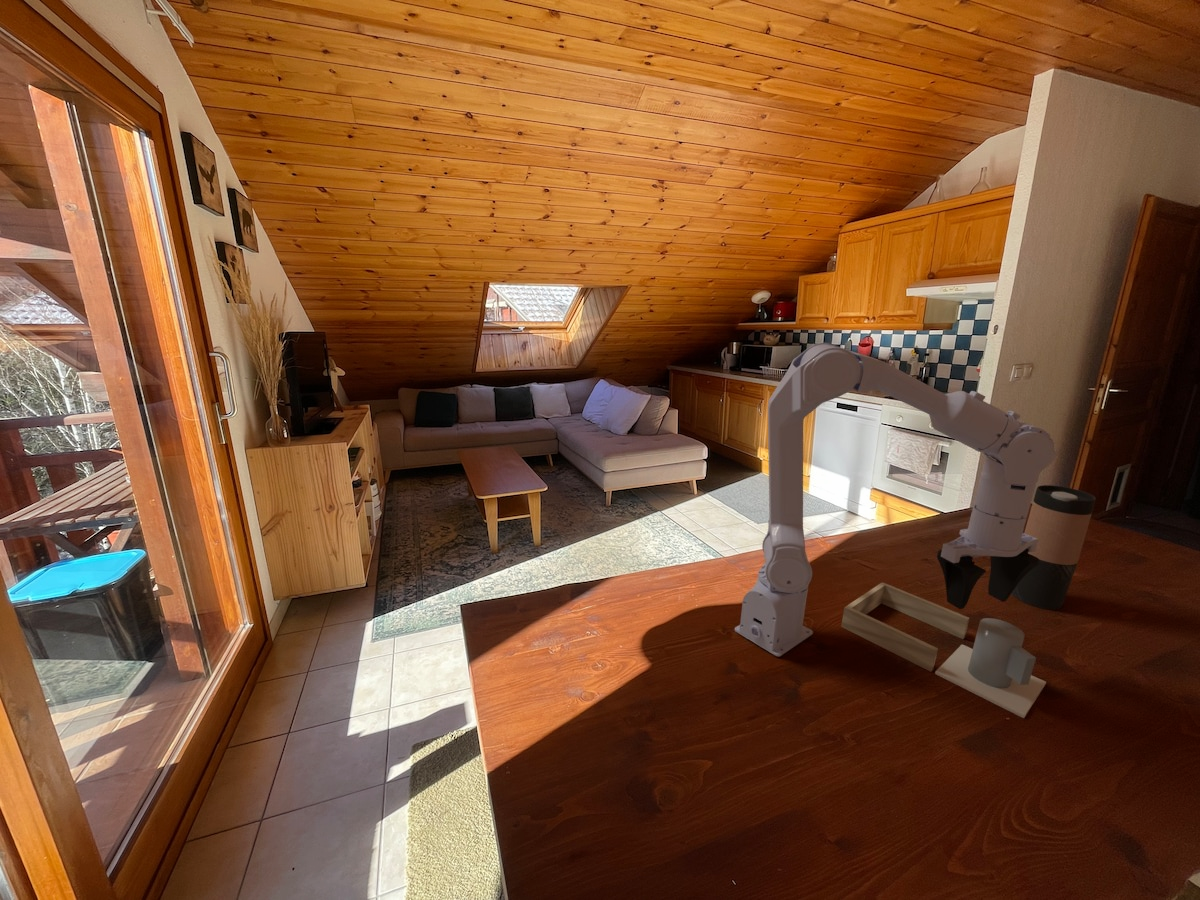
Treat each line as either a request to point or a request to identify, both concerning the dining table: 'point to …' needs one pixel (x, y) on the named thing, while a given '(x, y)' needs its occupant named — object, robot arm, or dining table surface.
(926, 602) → the frame
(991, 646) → the grey domed cylinder
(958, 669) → the coaster
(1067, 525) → the travel mug
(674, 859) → the dining table surface
